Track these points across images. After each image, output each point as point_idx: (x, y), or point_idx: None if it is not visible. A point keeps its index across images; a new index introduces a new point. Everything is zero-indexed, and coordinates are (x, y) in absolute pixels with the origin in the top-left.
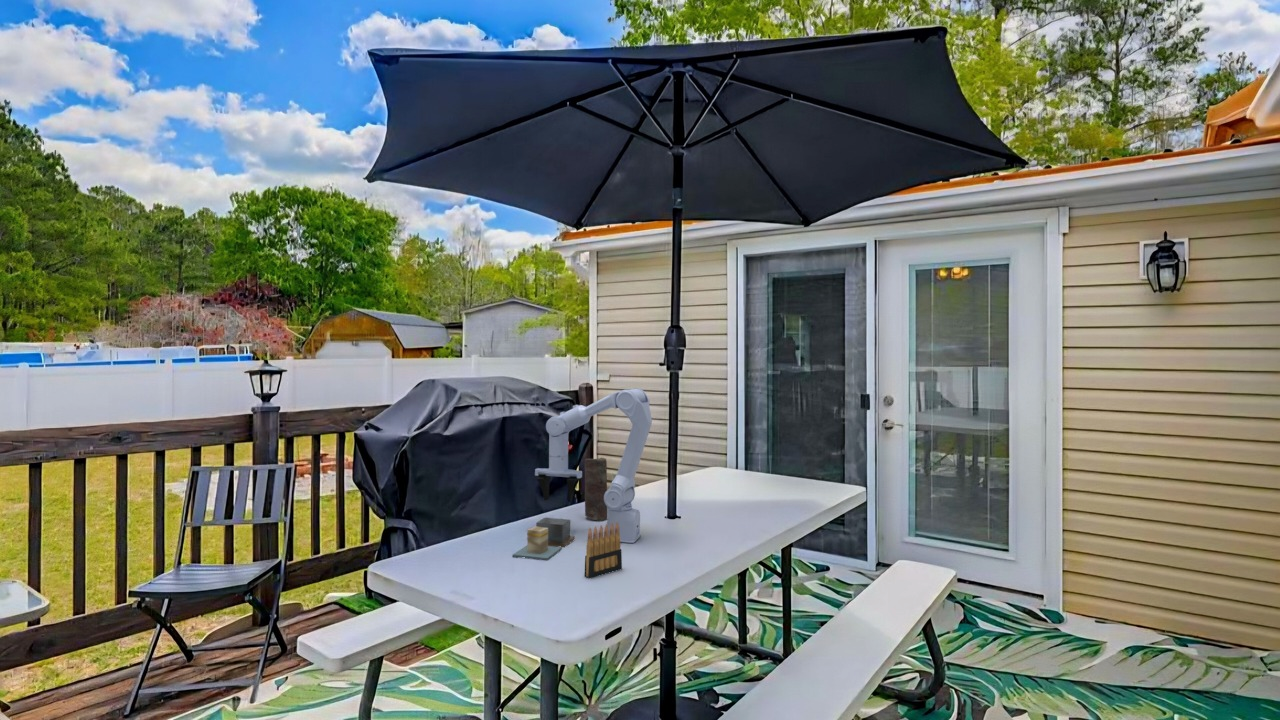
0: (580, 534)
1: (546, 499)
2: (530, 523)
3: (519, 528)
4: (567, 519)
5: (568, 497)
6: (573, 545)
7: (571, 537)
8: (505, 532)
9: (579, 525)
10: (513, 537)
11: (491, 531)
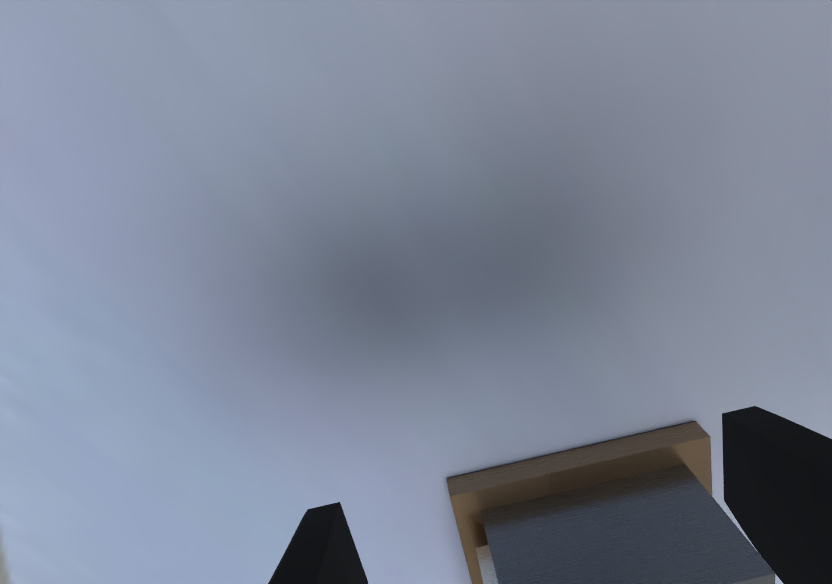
0: (678, 286)
1: (363, 582)
2: (53, 217)
3: (117, 396)
4: (745, 579)
5: (793, 572)
6: None
7: (699, 468)
8: (124, 524)
9: (533, 16)
10: None
11: (16, 554)
